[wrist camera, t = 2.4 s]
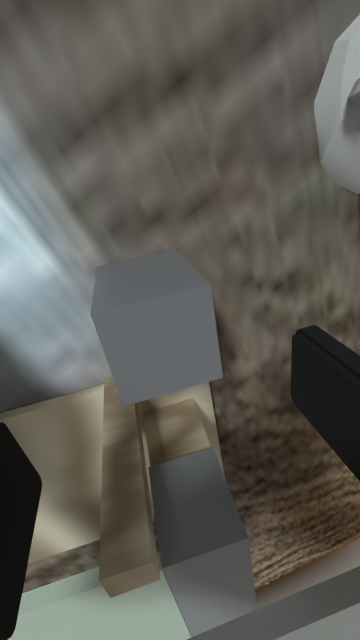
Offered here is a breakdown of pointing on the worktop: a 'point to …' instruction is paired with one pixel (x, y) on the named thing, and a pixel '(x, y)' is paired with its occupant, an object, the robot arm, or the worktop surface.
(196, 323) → the basalt block
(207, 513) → the trapdoor
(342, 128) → the crystal
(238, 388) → the worktop surface
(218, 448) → the frame
